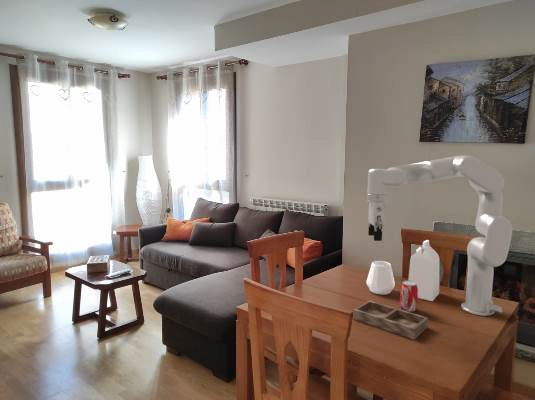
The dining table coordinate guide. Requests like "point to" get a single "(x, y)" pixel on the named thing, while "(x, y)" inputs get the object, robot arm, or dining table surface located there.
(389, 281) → the white faceted vase
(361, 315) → the caddy
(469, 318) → the dining table surface
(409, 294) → the soda can
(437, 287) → the milk
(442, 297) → the dining table surface
